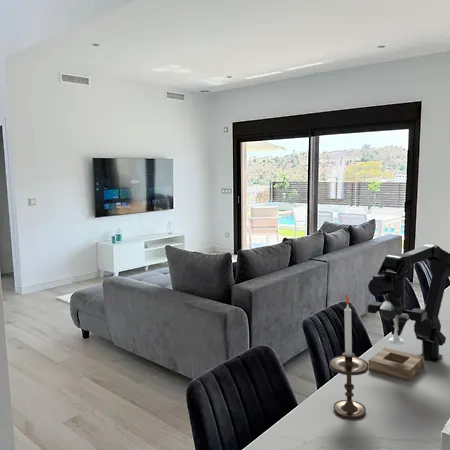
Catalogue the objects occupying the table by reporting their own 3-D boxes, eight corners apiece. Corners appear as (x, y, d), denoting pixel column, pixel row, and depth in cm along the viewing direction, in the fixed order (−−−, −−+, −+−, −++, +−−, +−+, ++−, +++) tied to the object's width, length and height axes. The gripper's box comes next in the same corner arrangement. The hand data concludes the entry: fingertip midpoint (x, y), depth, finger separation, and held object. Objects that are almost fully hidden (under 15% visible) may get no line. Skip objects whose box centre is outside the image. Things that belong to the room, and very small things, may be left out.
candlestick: (327, 401, 129) (324, 289, 126) (362, 400, 129) (361, 288, 125) (335, 421, 118) (332, 299, 115) (374, 420, 118) (372, 298, 114)
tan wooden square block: (384, 357, 159) (384, 347, 158) (424, 367, 149) (424, 356, 149) (368, 370, 149) (368, 359, 148) (409, 382, 139) (409, 370, 139)
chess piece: (405, 344, 145) (405, 316, 144) (390, 344, 146) (389, 316, 145) (402, 339, 150) (402, 312, 149) (387, 339, 151) (387, 311, 150)
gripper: (359, 292, 146) (360, 336, 148) (415, 301, 134) (415, 348, 135) (373, 285, 155) (374, 327, 156) (427, 293, 142) (427, 338, 143)
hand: (396, 334), depth 147 cm, fingers closed on chess piece
